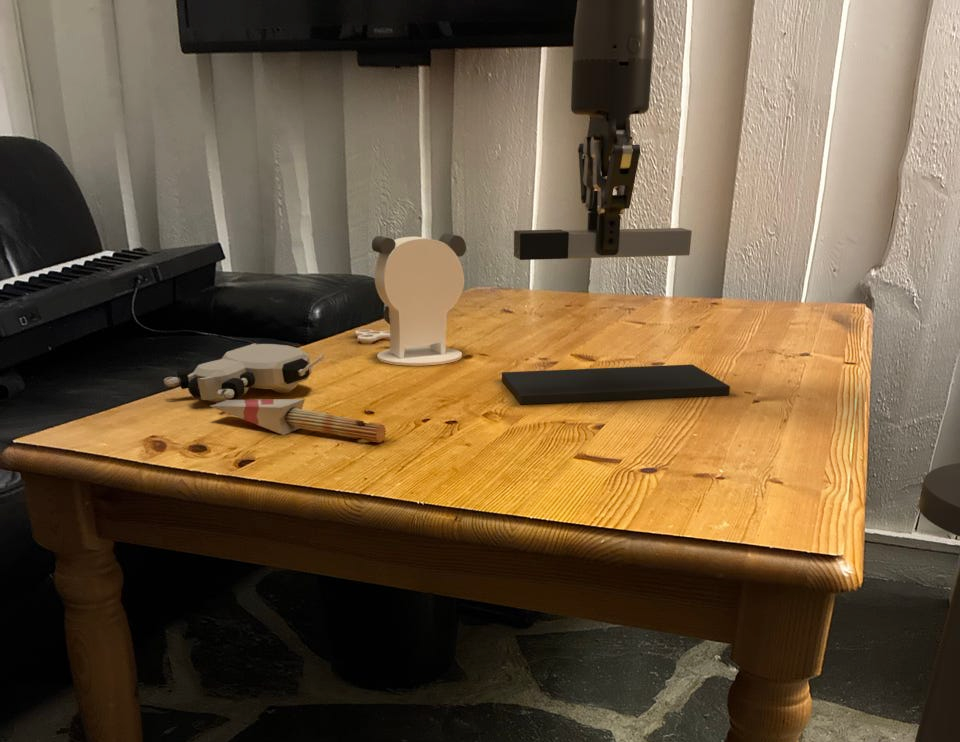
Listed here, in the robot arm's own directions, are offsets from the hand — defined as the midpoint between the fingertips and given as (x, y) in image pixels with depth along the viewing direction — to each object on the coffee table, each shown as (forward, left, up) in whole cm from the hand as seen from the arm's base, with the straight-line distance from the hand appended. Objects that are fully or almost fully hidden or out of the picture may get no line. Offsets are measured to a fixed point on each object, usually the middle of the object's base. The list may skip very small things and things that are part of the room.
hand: (602, 252), depth 97 cm
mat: (-4, -6, -15) cm, 17 cm away
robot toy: (+38, -10, -16) cm, 42 cm away
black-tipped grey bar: (0, 0, 0) cm, 0 cm away
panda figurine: (+16, -28, -16) cm, 36 cm away
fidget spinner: (+21, -42, -15) cm, 49 cm away
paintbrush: (+33, +7, -16) cm, 37 cm away
